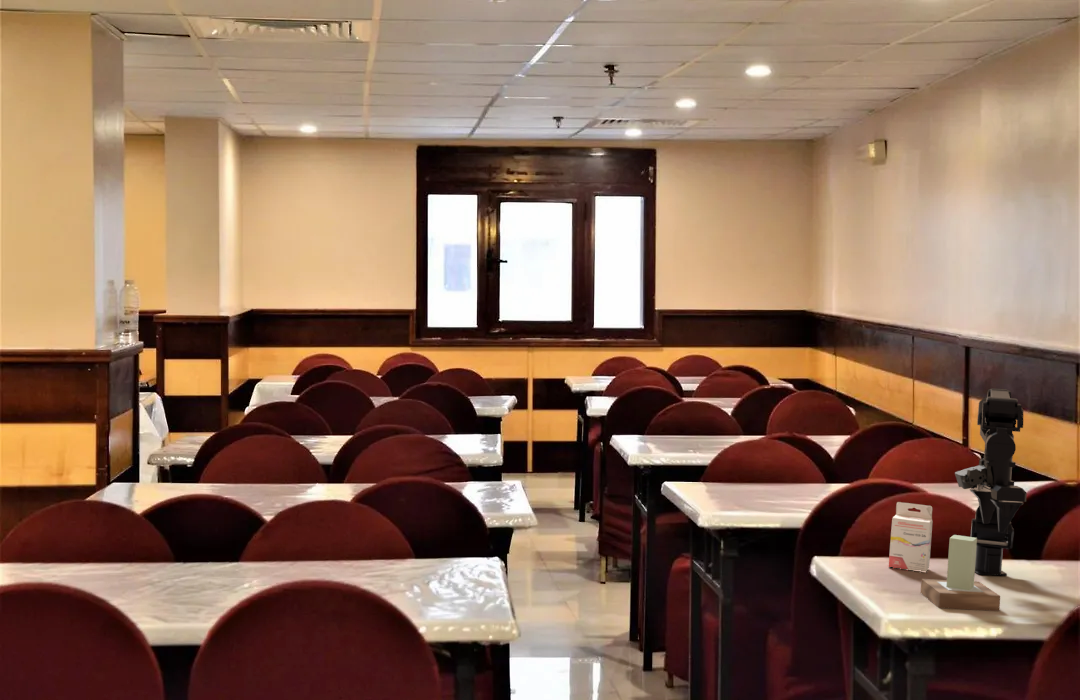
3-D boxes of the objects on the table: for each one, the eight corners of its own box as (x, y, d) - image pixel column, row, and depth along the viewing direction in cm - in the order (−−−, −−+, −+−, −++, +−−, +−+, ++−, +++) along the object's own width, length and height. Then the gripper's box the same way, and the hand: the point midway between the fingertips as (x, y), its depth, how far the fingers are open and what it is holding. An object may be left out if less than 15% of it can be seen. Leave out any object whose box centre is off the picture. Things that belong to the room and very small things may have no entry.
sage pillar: (946, 586, 246) (949, 538, 245) (951, 582, 250) (954, 534, 249) (969, 590, 244) (972, 541, 243) (973, 586, 248) (976, 537, 247)
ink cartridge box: (887, 568, 276) (891, 504, 275) (891, 564, 280) (895, 501, 280) (927, 573, 272) (931, 508, 272) (929, 569, 277) (933, 505, 276)
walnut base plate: (920, 593, 253) (921, 578, 253) (978, 595, 253) (979, 581, 253) (938, 607, 241) (940, 592, 241) (999, 610, 241) (1000, 595, 241)
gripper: (946, 448, 269) (942, 517, 270) (976, 459, 251) (971, 534, 251) (996, 450, 269) (992, 520, 270) (1029, 462, 251) (1024, 537, 251)
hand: (993, 527), depth 261 cm, fingers open, 9 cm apart
